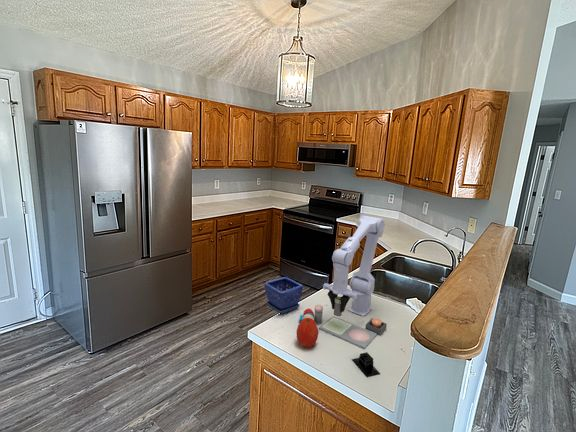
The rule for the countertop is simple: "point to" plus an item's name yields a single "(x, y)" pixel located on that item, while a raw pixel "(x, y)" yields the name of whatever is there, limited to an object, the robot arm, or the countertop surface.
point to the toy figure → (307, 315)
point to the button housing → (375, 329)
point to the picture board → (348, 332)
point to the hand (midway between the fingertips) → (338, 309)
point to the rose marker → (318, 314)
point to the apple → (307, 332)
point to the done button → (376, 322)
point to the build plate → (366, 365)
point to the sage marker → (337, 307)
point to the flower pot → (283, 294)
